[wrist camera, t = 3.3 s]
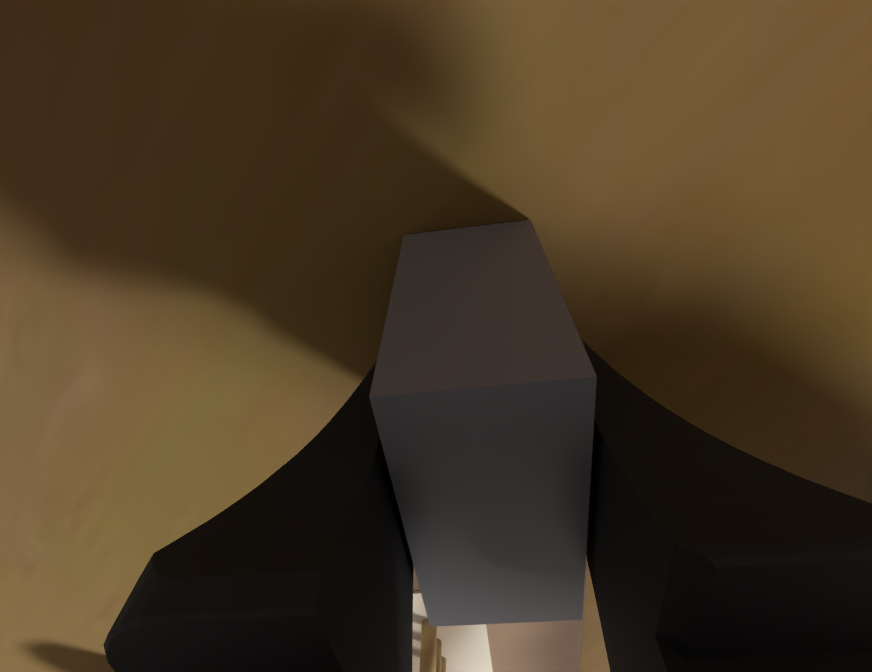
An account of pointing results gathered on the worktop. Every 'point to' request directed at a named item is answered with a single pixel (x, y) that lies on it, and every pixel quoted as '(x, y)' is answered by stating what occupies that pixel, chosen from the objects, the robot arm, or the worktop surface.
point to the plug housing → (487, 426)
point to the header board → (495, 644)
